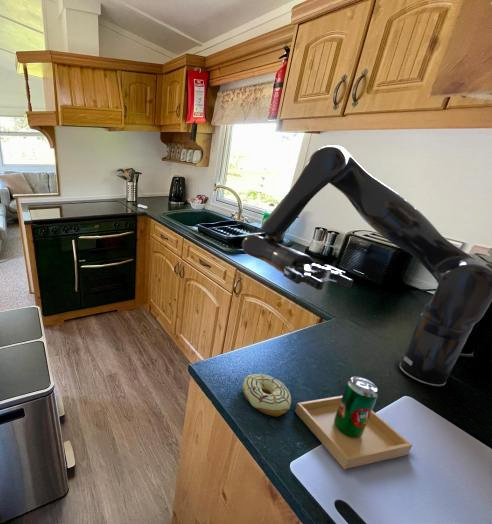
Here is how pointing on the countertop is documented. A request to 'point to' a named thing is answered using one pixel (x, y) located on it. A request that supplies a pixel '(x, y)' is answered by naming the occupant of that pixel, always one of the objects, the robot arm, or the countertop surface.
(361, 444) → the serving tray
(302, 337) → the countertop surface
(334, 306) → the countertop surface
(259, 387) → the decorated donut
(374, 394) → the soda can
